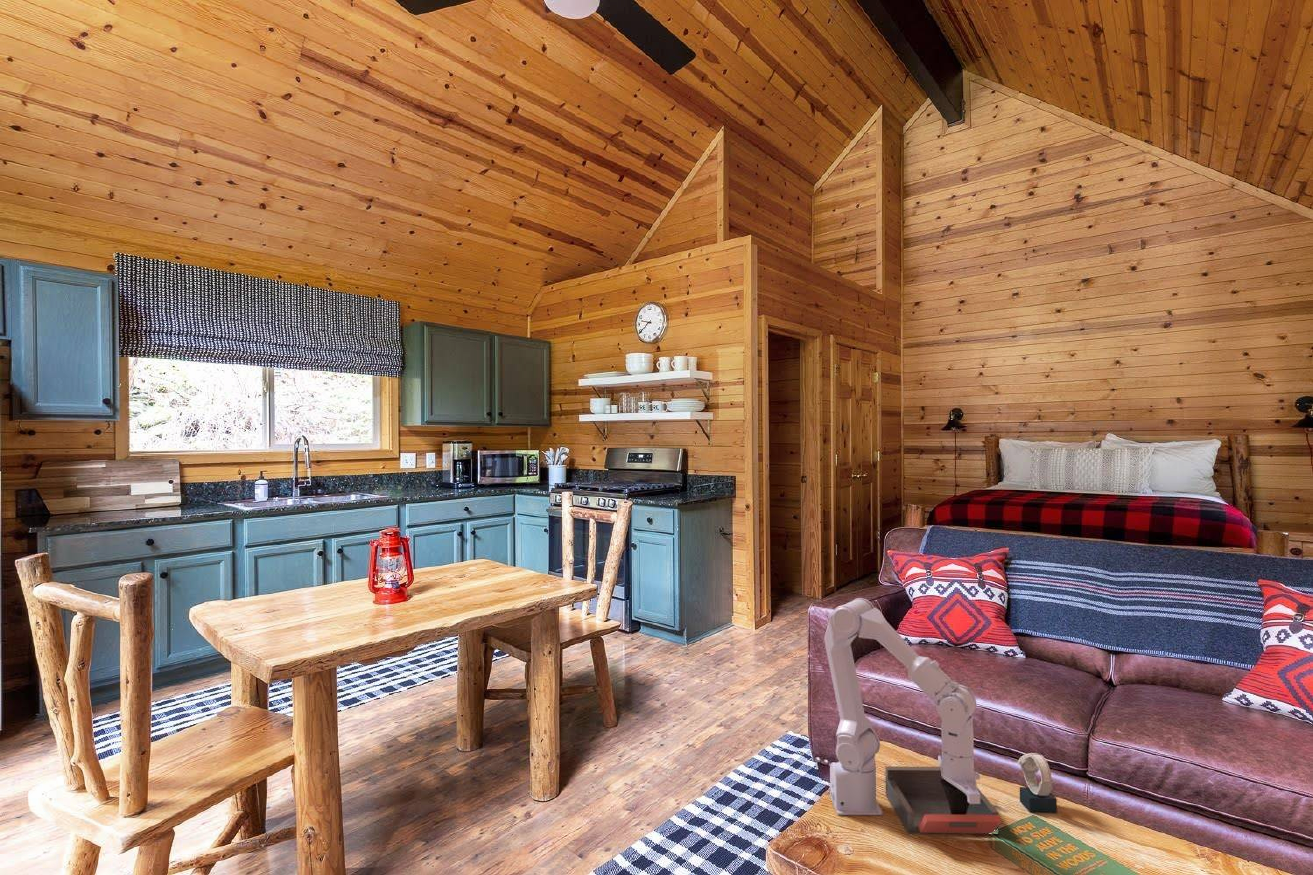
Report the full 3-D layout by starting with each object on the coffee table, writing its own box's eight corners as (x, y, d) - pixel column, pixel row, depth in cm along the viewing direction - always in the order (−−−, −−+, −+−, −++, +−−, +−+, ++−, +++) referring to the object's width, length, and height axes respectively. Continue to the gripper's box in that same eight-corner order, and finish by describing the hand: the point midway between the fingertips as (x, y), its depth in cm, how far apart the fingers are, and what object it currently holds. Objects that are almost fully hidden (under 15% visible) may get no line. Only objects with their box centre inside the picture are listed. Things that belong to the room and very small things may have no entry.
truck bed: (907, 833, 130) (907, 801, 130) (885, 795, 144) (885, 766, 144) (998, 834, 129) (998, 802, 130) (967, 796, 144) (967, 766, 144)
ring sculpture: (1041, 796, 143) (1040, 747, 143) (1061, 818, 135) (1060, 765, 135) (1014, 796, 143) (1014, 746, 143) (1033, 817, 135) (1032, 764, 135)
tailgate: (920, 835, 128) (927, 823, 125) (918, 825, 130) (925, 814, 126) (992, 836, 128) (1002, 824, 124) (989, 826, 129) (998, 814, 125)
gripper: (996, 769, 120) (997, 843, 120) (962, 734, 134) (963, 799, 134) (957, 769, 120) (958, 843, 120) (927, 734, 135) (928, 799, 135)
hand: (958, 820), depth 127 cm, fingers closed, pressing on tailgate
